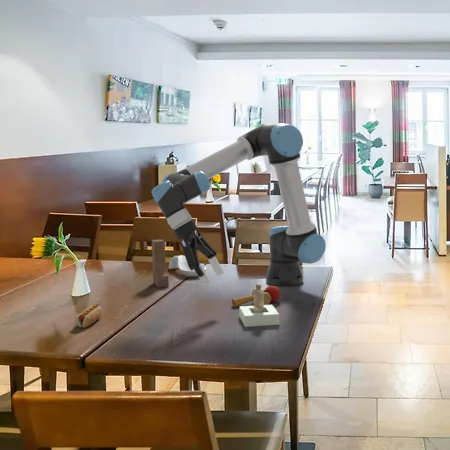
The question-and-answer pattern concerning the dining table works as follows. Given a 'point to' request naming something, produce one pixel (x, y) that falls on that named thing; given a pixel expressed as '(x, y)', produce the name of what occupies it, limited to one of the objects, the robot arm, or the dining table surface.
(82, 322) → the food
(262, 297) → the beige bottle
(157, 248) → the wooden block
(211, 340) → the dining table surface
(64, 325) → the dining table surface
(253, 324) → the peg hole block
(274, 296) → the kendama
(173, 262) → the spoon rest
